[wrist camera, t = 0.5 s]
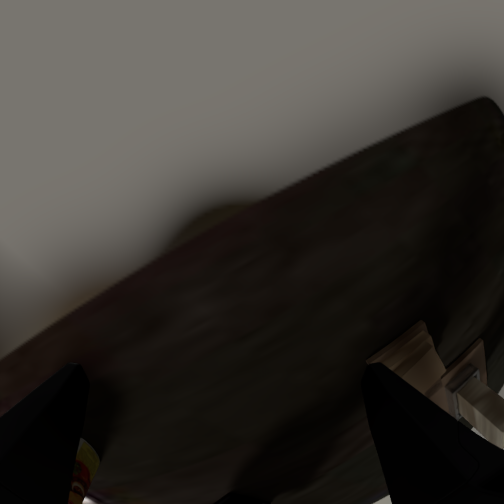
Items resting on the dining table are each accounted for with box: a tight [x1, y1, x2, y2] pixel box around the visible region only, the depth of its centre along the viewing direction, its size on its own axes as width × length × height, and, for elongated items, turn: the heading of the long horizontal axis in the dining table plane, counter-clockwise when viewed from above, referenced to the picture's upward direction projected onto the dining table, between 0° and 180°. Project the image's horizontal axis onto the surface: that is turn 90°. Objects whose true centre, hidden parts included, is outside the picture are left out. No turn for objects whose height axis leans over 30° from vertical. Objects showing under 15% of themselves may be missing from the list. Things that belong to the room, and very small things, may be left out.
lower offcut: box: [381, 331, 435, 371], centre depth 24 cm, size 6×5×2 cm
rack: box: [366, 320, 487, 421], centre depth 25 cm, size 14×19×3 cm
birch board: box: [456, 377, 504, 449], centre depth 21 cm, size 3×5×11 cm, turn 31°
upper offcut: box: [393, 340, 446, 394], centre depth 23 cm, size 5×4×2 cm
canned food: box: [68, 438, 100, 504], centre depth 19 cm, size 8×8×12 cm
